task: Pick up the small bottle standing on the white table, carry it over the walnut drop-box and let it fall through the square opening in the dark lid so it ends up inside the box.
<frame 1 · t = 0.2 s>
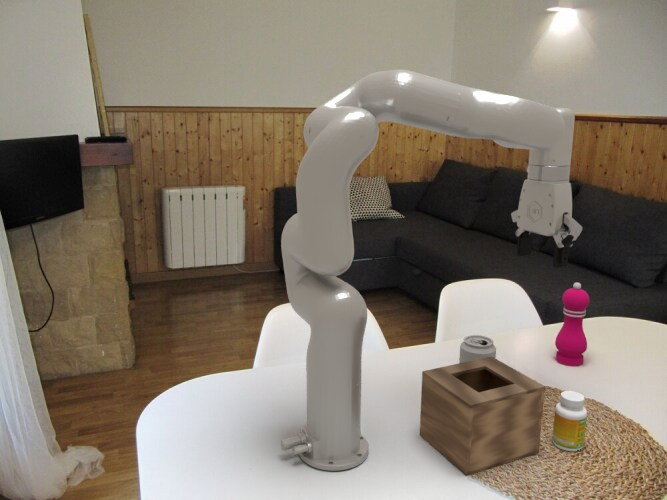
hand: (541, 260, 117), 31 cm above the table, tool pointing down, fingers open, 9 cm apart
can: (475, 391, 129), on the table
pepper mill: (569, 361, 144), on the table
drop box: (477, 443, 108), on the table
supplement bottle: (567, 445, 108), on the table
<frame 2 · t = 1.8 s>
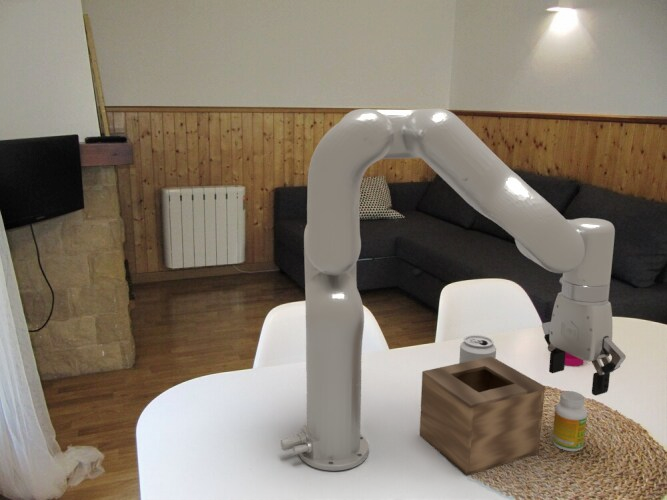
hand: (577, 381, 105), 12 cm above the table, tool pointing down, fingers open, 9 cm apart
nothing on the table moved.
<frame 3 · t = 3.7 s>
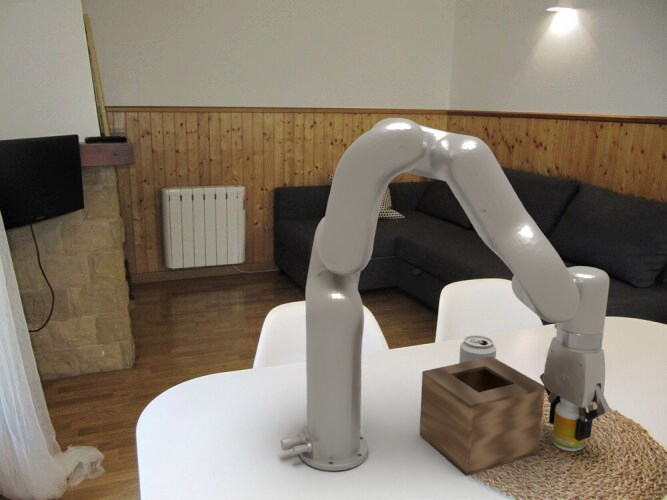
hand: (569, 429, 108), 3 cm above the table, tool pointing down, fingers closed on supplement bottle, 5 cm apart
supplement bottle: (567, 445, 108), on the table, touching gripper
everything else where it was.
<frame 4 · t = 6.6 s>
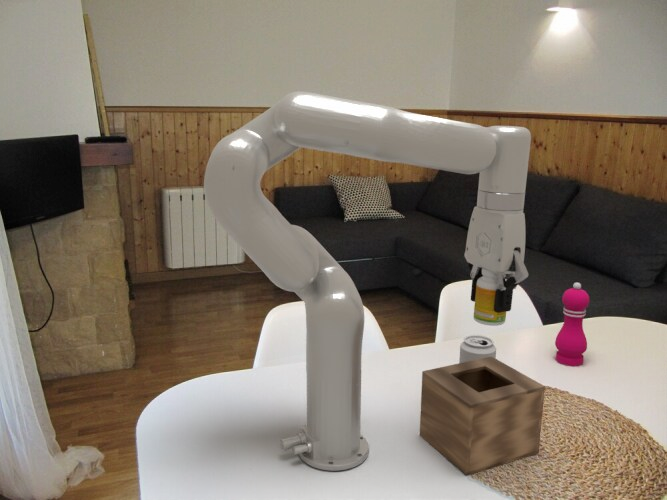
hand: (490, 304, 102), 27 cm above the table, tool pointing down, fingers closed on supplement bottle, 5 cm apart
supplement bottle: (488, 322, 103), point 24 cm above the table, touching gripper
everything else where it was.
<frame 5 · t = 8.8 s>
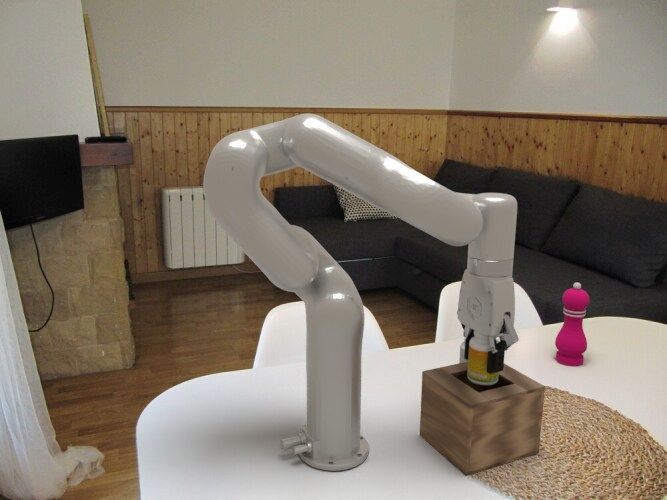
hand: (483, 363, 105), 16 cm above the table, tool pointing down, fingers closed on supplement bottle, 5 cm apart
supplement bottle: (482, 380, 105), point 13 cm above the table, touching gripper
everything else where it was.
when the fingers open (14 cm above the table, at t = 10.0 s): supplement bottle drops 11 cm, resting on drop box.
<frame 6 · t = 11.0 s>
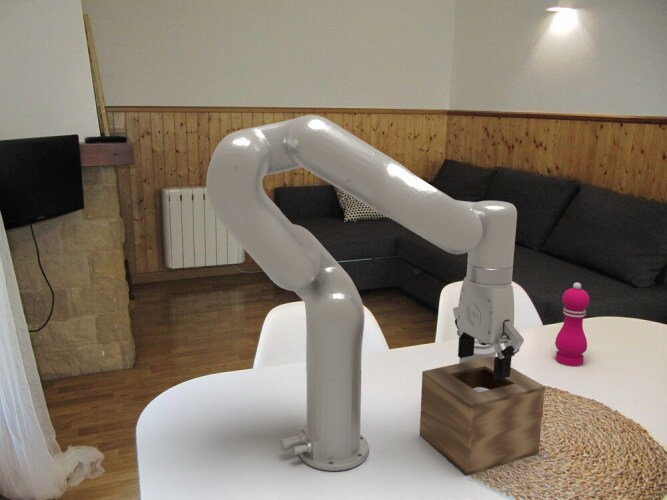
hand: (482, 366, 105), 15 cm above the table, tool pointing down, fingers open, 9 cm apart
supplement bottle: (476, 440, 108), point 1 cm above the table, touching drop box
everything else where it was.
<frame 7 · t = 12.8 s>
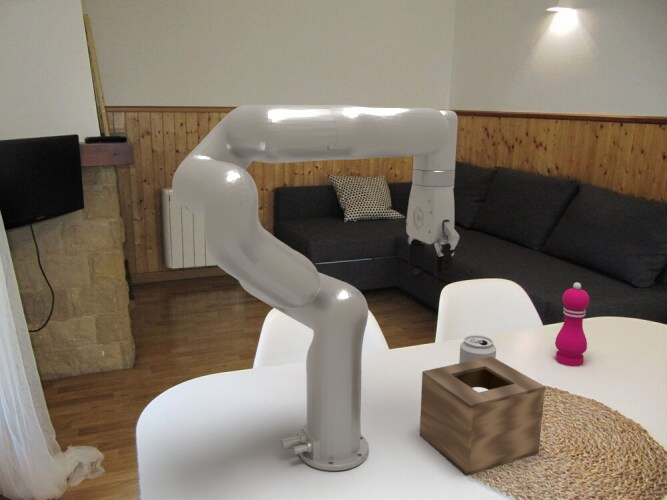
hand: (428, 270, 111), 30 cm above the table, tool pointing down, fingers open, 9 cm apart
nothing on the table moved.
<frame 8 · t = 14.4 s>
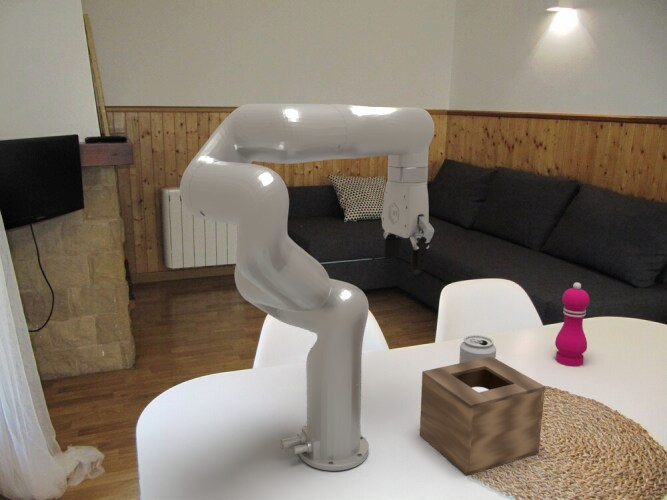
hand: (404, 263, 116), 30 cm above the table, tool pointing down, fingers open, 9 cm apart
nothing on the table moved.
at the end: supplement bottle inside the target area on the drop box (0.2 cm from its centre), point 0.4 cm above the drop box's base; the gripper is holding nothing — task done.
